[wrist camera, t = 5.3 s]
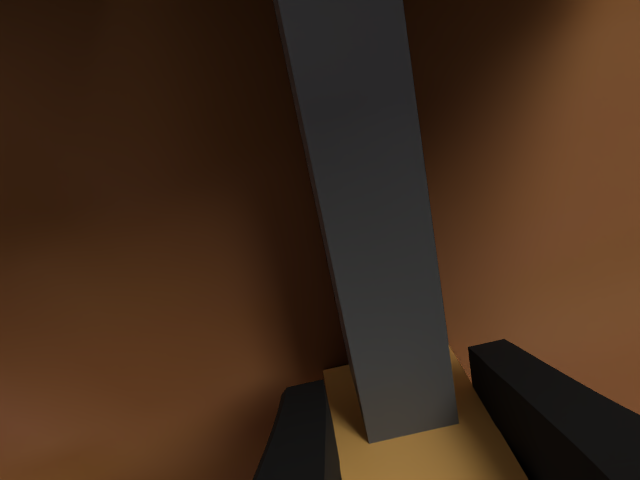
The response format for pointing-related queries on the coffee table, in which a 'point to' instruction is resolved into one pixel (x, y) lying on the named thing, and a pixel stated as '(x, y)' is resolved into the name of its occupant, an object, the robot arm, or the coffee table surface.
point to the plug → (382, 251)
